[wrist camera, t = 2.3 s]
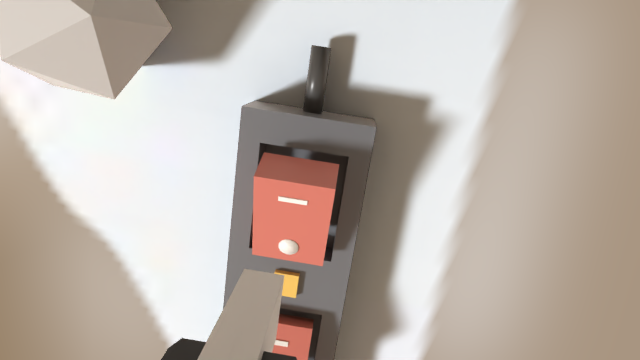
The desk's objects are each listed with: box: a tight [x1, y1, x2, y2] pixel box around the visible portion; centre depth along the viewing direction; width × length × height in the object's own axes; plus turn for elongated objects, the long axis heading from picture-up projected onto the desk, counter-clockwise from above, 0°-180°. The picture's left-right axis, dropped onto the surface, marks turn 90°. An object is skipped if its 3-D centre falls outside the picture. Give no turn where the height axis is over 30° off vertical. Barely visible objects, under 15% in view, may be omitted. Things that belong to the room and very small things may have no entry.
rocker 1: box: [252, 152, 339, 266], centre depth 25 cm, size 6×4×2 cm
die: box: [0, 0, 173, 99], centre depth 24 cm, size 8×9×10 cm
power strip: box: [223, 45, 377, 360], centre depth 29 cm, size 26×8×4 cm, turn 172°
